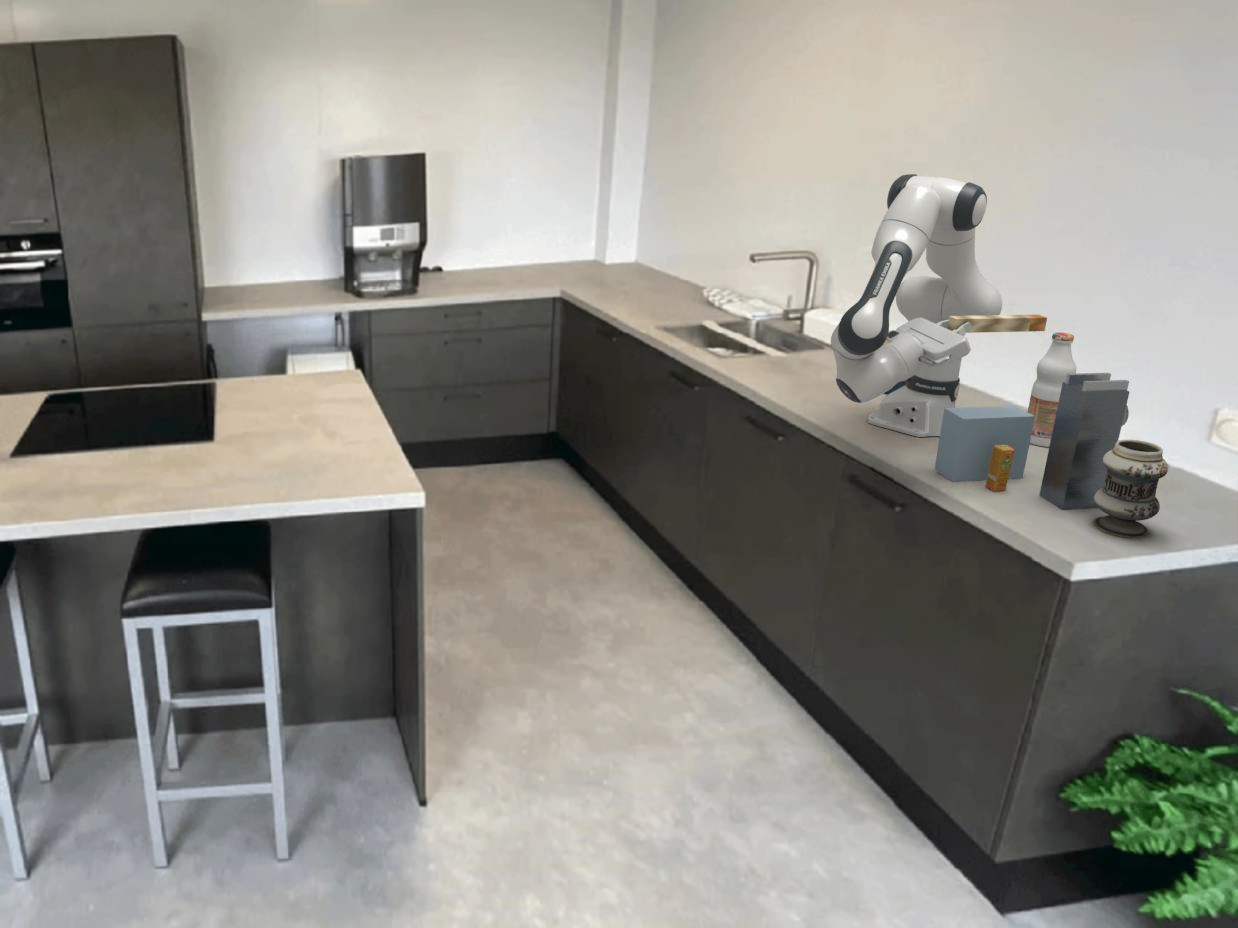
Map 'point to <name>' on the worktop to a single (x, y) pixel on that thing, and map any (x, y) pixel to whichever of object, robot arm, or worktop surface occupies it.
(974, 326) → the tan wooden bar
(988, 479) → the supplement box
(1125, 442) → the apothecary jar
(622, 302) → the worktop surface
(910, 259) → the robot arm
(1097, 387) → the housing tower
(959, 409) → the pale blue brick
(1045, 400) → the fruit juice
